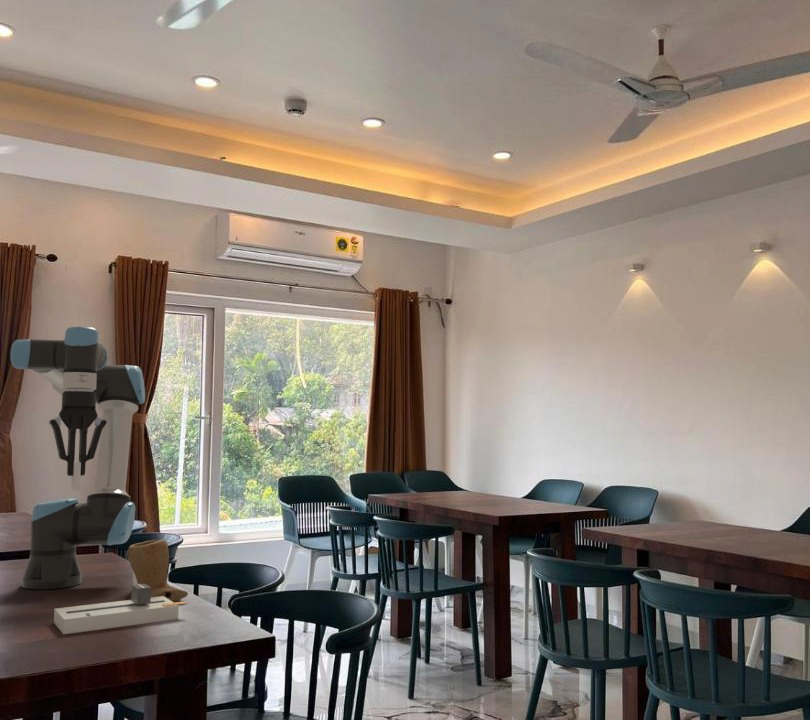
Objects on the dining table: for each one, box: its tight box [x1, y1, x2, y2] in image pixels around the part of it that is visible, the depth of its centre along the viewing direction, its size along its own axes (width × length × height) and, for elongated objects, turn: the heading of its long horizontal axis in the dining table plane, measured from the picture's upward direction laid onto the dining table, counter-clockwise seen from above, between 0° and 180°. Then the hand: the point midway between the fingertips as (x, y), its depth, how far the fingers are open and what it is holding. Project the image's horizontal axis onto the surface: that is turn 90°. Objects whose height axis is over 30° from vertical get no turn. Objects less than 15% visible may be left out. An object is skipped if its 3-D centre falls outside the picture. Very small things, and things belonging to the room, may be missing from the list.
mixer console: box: [53, 596, 187, 635], centre depth 172 cm, size 12×26×3 cm, turn 124°
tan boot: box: [127, 538, 189, 603], centre depth 193 cm, size 15×12×15 cm
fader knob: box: [130, 584, 151, 605], centre depth 174 cm, size 5×3×4 cm, turn 34°
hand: (75, 489), depth 182 cm, fingers closed
